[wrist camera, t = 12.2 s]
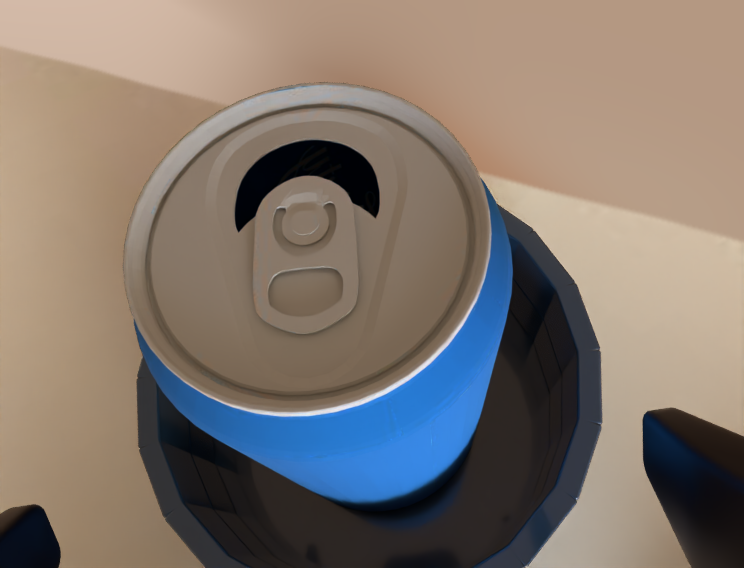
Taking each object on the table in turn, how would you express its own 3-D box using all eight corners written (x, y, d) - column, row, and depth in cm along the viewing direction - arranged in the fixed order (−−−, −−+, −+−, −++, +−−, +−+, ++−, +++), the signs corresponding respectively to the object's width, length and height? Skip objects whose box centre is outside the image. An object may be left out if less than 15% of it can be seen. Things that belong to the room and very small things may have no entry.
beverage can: (464, 307, 21) (489, 41, 10) (490, 505, 19) (561, 425, 8) (280, 324, 22) (119, 85, 11) (279, 520, 19) (64, 465, 8)
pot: (612, 317, 21) (659, 250, 17) (484, 694, 17) (500, 742, 13) (304, 205, 24) (272, 123, 20) (133, 501, 20) (45, 483, 16)
